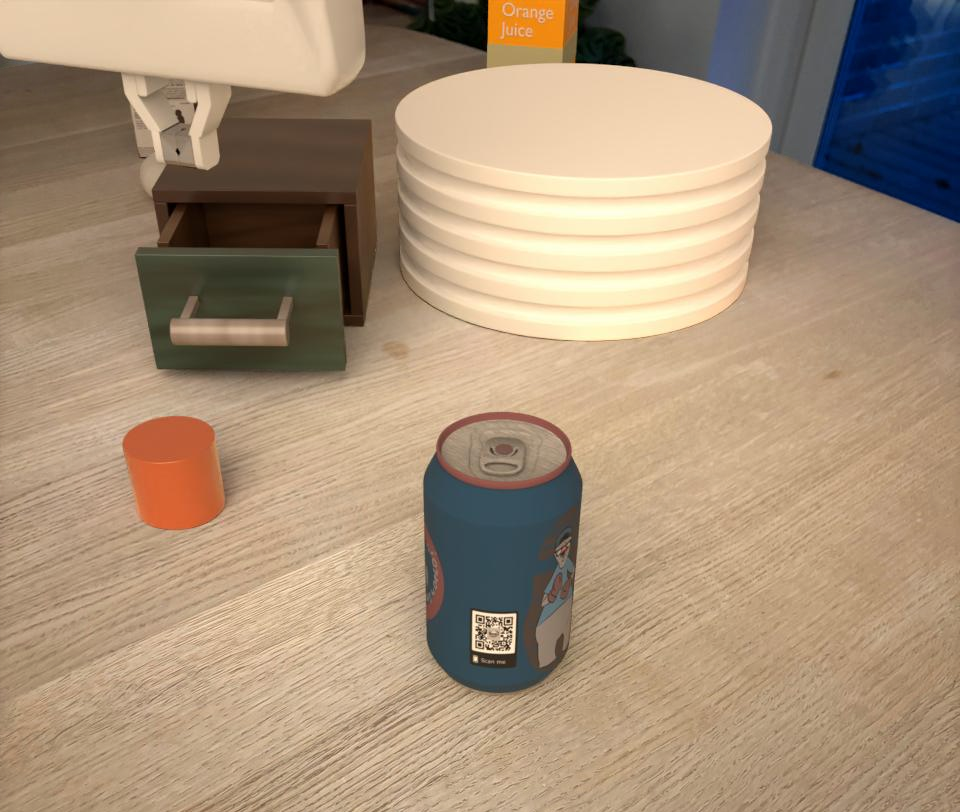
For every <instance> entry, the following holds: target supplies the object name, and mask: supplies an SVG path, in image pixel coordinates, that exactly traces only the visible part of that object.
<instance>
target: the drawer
mask: <svg viewBox="0 0 960 812" xmlns="http://www.w3.org/2000/svg"><path fill="white" fill-rule="evenodd" d="M134 259H135V266H136V271H137V275H138V279H139V285H140V291H141V296H142V301H143V306H144V310H145V316H146V321H147V322H146V323H147V327H148V331H149V332H148V333H149V336H150V337H149V338H150V341H151V347H152V352H153V357H154V363H155V367H156V370H163V371H165V370H170V371H173V370H177V371H178V370H179V371H180V370H181V371H182V370H183V371H184V370H185V371H188V370H189V371H194V370H195V371H301V372H302V371H305V372H306V371H307V372H309V371H313V372H316V371H317V372H318V371H319V372H320V371H321V372H345V371H346V367H347V363H348V362H347V349H346V348H347V347H346V336H345V326H344V320H343V310H344V305H345V300H346V295H347V289H348V284H349V276H348V261H347V246H346V231H345V217H344V204H266V203H177V205H176V207H175V209H174V211H173V213H172V215H171V217H170V218H169V220H168V222H167V224H166V226H165V228H164V230H163V231H162V233H161V235H159V237H158V239H157V240H156V247H155V246H138V247H137V249H136V251H135V253H134Z"/></svg>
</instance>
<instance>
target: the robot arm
mask: <svg viewBox="0 0 960 812" xmlns="http://www.w3.org/2000/svg"><path fill="white" fill-rule="evenodd" d="M364 19H365V17H364V7H363V0H0V55H1V56H2V57H3V58H6V59H9V60H14V61H23V62H31V63H40V64H47V65H48V64H49V65H57V66H63V67H64V66H65V67H72V68H82V69H90V70H96V71H97V70H98V71H106V72H113V73H114V72H115V73H120V74H121V81H122V86H123V87H122V88H123V92H124V95H125V97H126V99H127V100H128V102H129V101H130V103H131V104H132V106H133V107H134V109H135V110H136V112H137V113H138V115H139V116H140V118H141V119H142V121H143V122H144V124H145V125H146V127H147V128H148V130H150V131H151V134H152V139H153V145H154V150H155V156H156V160H157V162H158V163H160V164H165V165H176V166H183V167H188V168H194V169H201V170H209V169H211V168H212V167H214V166H215V165H217V164H218V162H219V158H220V153H219V145H218V138H217V130H216V129H217V128H218V127H219V125H220V122H221V120H222V118H224V114H225V112H226V111H227V107H228V105H229V102H230V99H231V97H232V95H233V94H232V87H238V88H244V89H245V88H247V89H252V90H262V91H268V92H269V91H270V92H278V93H279V92H280V93H287V94H294V95H295V94H296V95H304V96H311V97H318V98H321V97H322V98H326V97H327V98H328V97H330V96H332V95H334V94H336V93H338V92H339V91H342V90H343V89H344V88H346V87H347V86H349V85H350V84H352V83H353V81H355V79H356V78H357V76H359V75H358V74H359V73H360V71H362V69H363V66H364V65H365V61H366V50H367V49H366V30H365V29H366V28H365V20H364ZM168 78H170V79H179V80H184V83H185V89H186V96H187V100H188V101H189V102H190V103H197V102H198V105H197V109H196V112H195V115H194V118H193V121H192V125H191V124H185V123H178V122H179V120H178V119H177V117H176V115H175V113H174V111H173V109H172V108H171V106H170V104H169V102H168V100H167V98H166V97H165V95H164V93H163V91H162V89H163V88H165V87H167V86H168V85H169V80H168Z"/></svg>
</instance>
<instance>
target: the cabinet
mask: <svg viewBox="0 0 960 812" xmlns="http://www.w3.org/2000/svg"><path fill="white" fill-rule="evenodd" d="M191 125H192V123H191ZM216 130H217V138H218V145H219V153H220V158H219V162H218V164H217V165H215V166H214V167H212V168H211V169H209V170H201V169H194V168H188V167H183V166H176V165H166V166H165V168H164V169H163V171H162V173H161V174H160V176H159V178H158V179H157V181H156V183H155V184H154V186H153V188H152V196H153V198H152V201H153V205H154V206H153V207H154V213H155V218H156V222H157V229H158V235H159V236H160V235H161V233H162V231H163V230H164V228H165V226H166V224H167V222H168V220H169V218H170V217H171V215H172V213H173V211H174V209H175V207H176V205H177V203H266V204H344V217H345V231H346V246H347V261H348V276H349V284H348V289H347V295H346V300H345V305H344V310H343V320H344V327H364V326H365V322H366V317H367V310H368V304H369V298H370V291H371V286H372V285H371V284H372V278H373V272H372V270H373V271H374V266H373V263H374V264H375V259H374V256H375V257H376V253H375V249H376V250H377V247H376V242H377V243H378V233H377V232H378V231H377V230H378V229H377V227H378V226H377V209H376V207H377V206H376V190H375V188H376V187H375V170H374V169H375V167H374V149H373V146H374V145H373V132H372V131H373V127H372V119H370V118H368V119H366V118H365V119H364V118H358V119H357V118H279V117H278V118H277V117H276V118H275V117H274V118H273V117H272V118H270V117H269V118H268V117H265V118H264V117H263V118H262V117H222V120H221V122H220V125H219V127H218V128H217V129H216Z"/></svg>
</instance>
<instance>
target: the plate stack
mask: <svg viewBox="0 0 960 812" xmlns="http://www.w3.org/2000/svg"><path fill="white" fill-rule="evenodd" d="M771 120H772V119H771V118H770V117H769V115H768V114H767V112H765V110H764V109H763V108H762V107H760V105H758V104H757V103H755V102H754V101H752V100H751V99H749V98H748V97H746V96H744V95H742V94H740V93H738V92H736V91H734V90H731V89H729V88H726V87H725V86H721V85H718V84H715V83H713V82H712V83H711V82H709V81H706V80H702V79H699V78H694V77H692V76H691V77H690V76H686V75H682V74H678V73H672V72H668V71H662V70H655V69H649V68H642V67H633V66H626V65H625V66H623V65H616V64H615V65H612V64H603V63H600V64H599V63H581V62H580V63H577V62H575V63H544V64H524V65H511V66H501V67H493V68H487V67H486V68H481V69H474V70H470V71H465V72H460V73H456V74H452V75H448V76H445V77H442V78H439V79H435V80H433V81H430V82H428V83H425V84H423V85H421V86H419V87H418V88H415V89H414V90H412V91H411V92H409V93H408V94H406V95H405V97H403V98H402V99H401V100H400V101H399V103H398V104H397V106H396V108H395V111H394V129H395V130H394V131H395V137H396V140H397V144H396V147H395V148H396V150H395V160H396V162H395V163H396V171H397V175H398V179H397V184H396V185H397V187H396V188H397V204H398V208H399V212H398V237H399V241H400V245H399V267H401V268H400V272H401V271H402V272H401V275H402V278H403V279H404V281H405V283H406V282H407V283H406V284H407V286H408V287H409V288H410V289H411V290H412V292H414V293H415V294H416V295H417V296H418V297H419V298H421V299H422V300H423V301H425V302H426V303H427V304H428V305H430V306H432V307H434V308H436V310H437V309H438V310H439V311H440V312H443V313H445V314H447V315H449V316H451V317H454V318H457V319H458V320H461V321H464V322H467V323H470V324H472V325H476V326H479V327H482V328H485V329H490V330H494V331H497V332H503V333H507V334H511V335H517V336H522V337H529V338H531V337H532V338H537V339H546V340H558V341H575V342H577V341H578V342H581V341H582V342H584V341H585V342H591V341H592V342H596V341H597V342H599V341H604V342H605V341H618V340H620V341H621V340H631V339H632V340H633V339H639V338H640V339H641V338H645V337H646V338H647V337H652V336H657V335H658V336H659V335H663V334H667V333H668V334H669V333H673V332H677V331H679V330H683V329H687V328H690V327H693V326H695V325H698V324H700V323H703V322H705V321H708V320H709V319H711V318H714V317H715V316H717V315H719V314H720V313H722V312H723V311H725V310H726V309H728V308H729V307H730V306H731V305H733V304H734V303H735V302H736V301H737V300H738V298H739V297H740V295H741V294H742V293H743V290H744V289H745V286H746V283H747V277H748V273H749V272H748V271H749V263H750V262H749V258H750V256H751V253H752V250H753V249H752V247H753V242H754V236H755V224H756V222H757V220H758V214H759V208H760V204H761V195H760V192H761V190H762V187H763V185H764V180H765V175H766V169H767V160H766V156H767V154H768V153H769V151H770V145H771V141H772V134H773V124H772V121H771Z"/></svg>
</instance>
